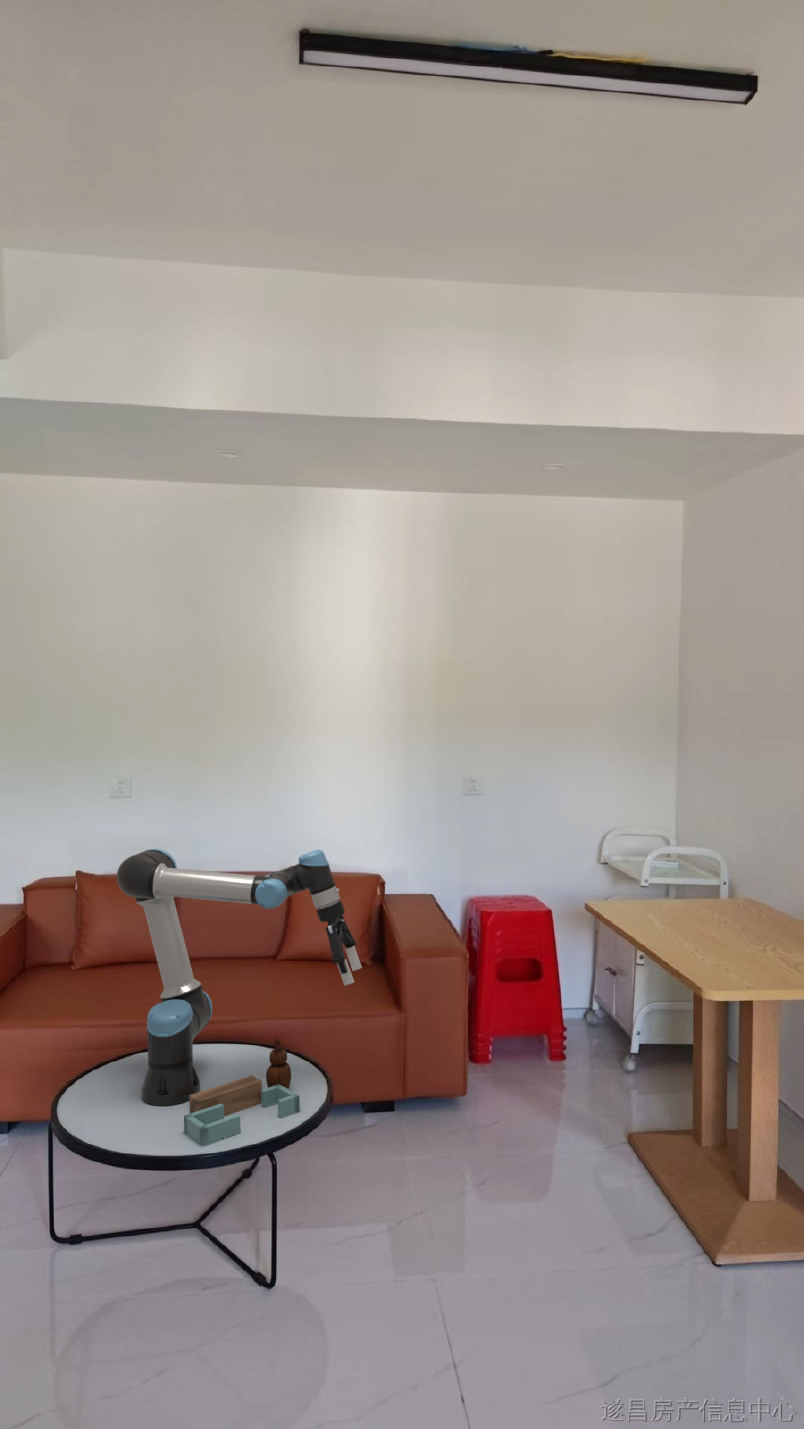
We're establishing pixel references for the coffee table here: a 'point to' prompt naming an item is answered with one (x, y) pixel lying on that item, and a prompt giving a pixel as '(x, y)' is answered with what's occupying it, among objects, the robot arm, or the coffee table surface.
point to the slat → (229, 1096)
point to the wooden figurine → (278, 1067)
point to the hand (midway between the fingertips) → (353, 976)
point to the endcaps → (235, 1116)
